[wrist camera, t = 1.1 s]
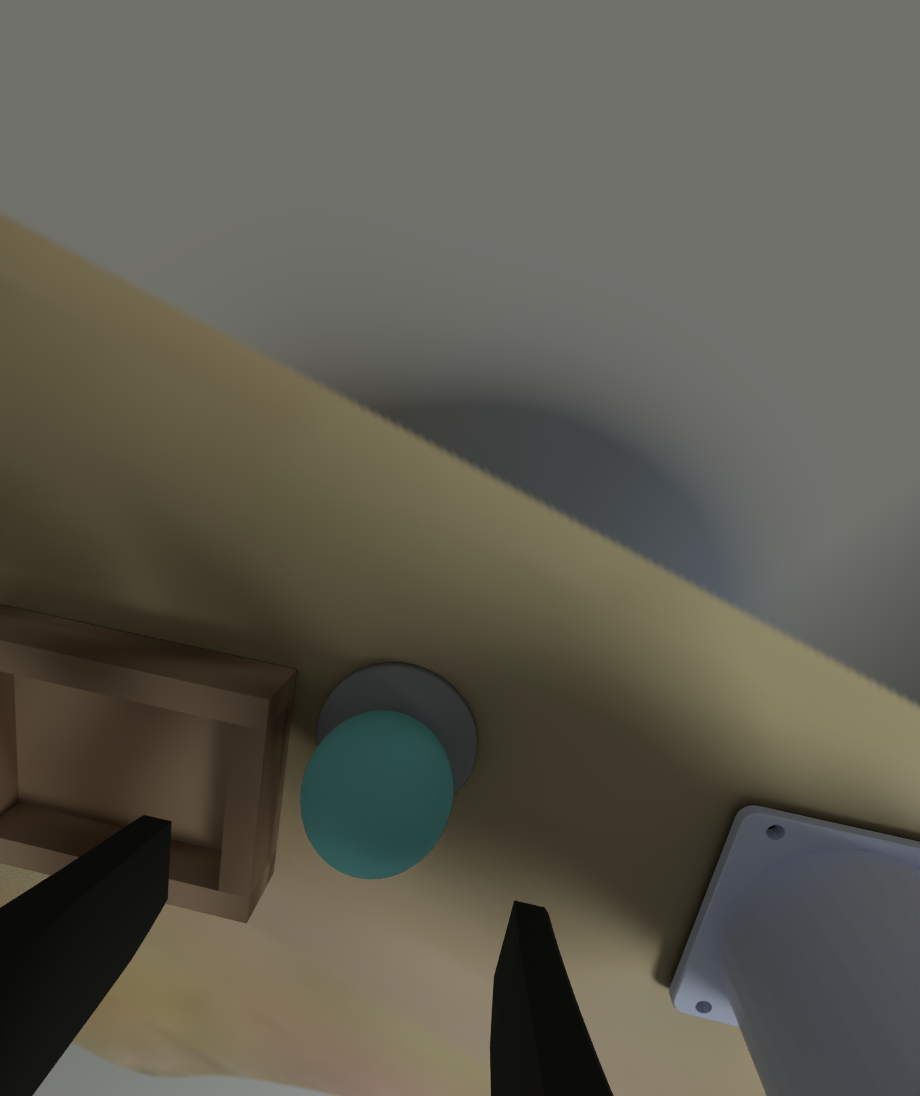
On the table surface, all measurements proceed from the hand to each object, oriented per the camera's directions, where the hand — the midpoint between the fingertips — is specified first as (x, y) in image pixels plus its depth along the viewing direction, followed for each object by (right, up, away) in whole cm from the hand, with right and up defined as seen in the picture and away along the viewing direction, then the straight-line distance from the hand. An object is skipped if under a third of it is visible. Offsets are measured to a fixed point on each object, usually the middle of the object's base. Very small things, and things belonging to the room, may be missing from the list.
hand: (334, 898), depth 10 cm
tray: (-8, +1, +6) cm, 10 cm away
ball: (+1, +1, +5) cm, 5 cm away
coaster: (+1, +1, +5) cm, 6 cm away
